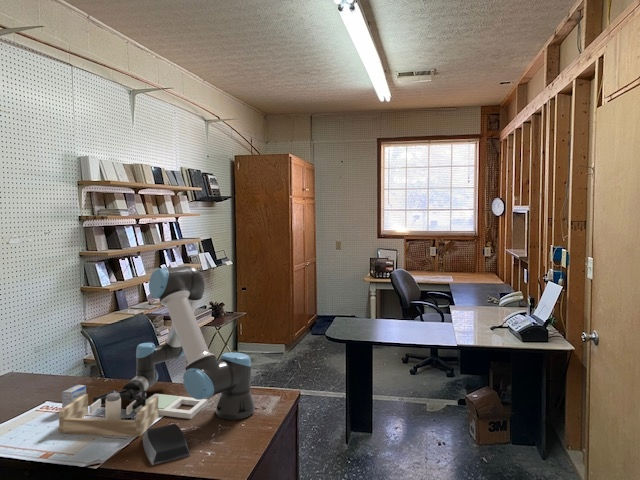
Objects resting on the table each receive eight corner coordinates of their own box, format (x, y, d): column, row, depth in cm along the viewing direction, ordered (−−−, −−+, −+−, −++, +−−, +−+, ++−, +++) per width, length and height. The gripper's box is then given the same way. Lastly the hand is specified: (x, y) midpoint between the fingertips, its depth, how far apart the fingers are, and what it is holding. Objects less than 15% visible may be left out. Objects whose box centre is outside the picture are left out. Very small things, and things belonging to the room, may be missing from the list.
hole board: (207, 404, 182) (207, 398, 182) (190, 418, 168) (190, 412, 168) (155, 398, 187) (155, 392, 187) (134, 412, 173) (134, 406, 173)
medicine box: (71, 414, 170) (71, 392, 169) (61, 413, 171) (61, 391, 170) (86, 406, 177) (86, 385, 177) (76, 405, 178) (76, 384, 178)
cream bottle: (124, 420, 166) (124, 393, 165) (114, 426, 161) (114, 398, 160) (111, 418, 167) (111, 391, 166) (102, 425, 162) (102, 396, 161)
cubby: (84, 414, 170) (84, 393, 170) (158, 416, 169) (158, 396, 169) (59, 433, 155) (59, 411, 154) (140, 436, 154) (140, 413, 153)
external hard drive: (149, 467, 136) (149, 454, 135) (140, 439, 152) (140, 428, 152) (192, 456, 142) (192, 444, 142) (179, 431, 159) (179, 420, 159)
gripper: (165, 398, 181) (142, 421, 160) (105, 396, 182) (75, 419, 161) (165, 380, 181) (142, 401, 160) (105, 378, 182) (75, 399, 161)
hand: (108, 410), depth 160 cm, fingers open, 13 cm apart
